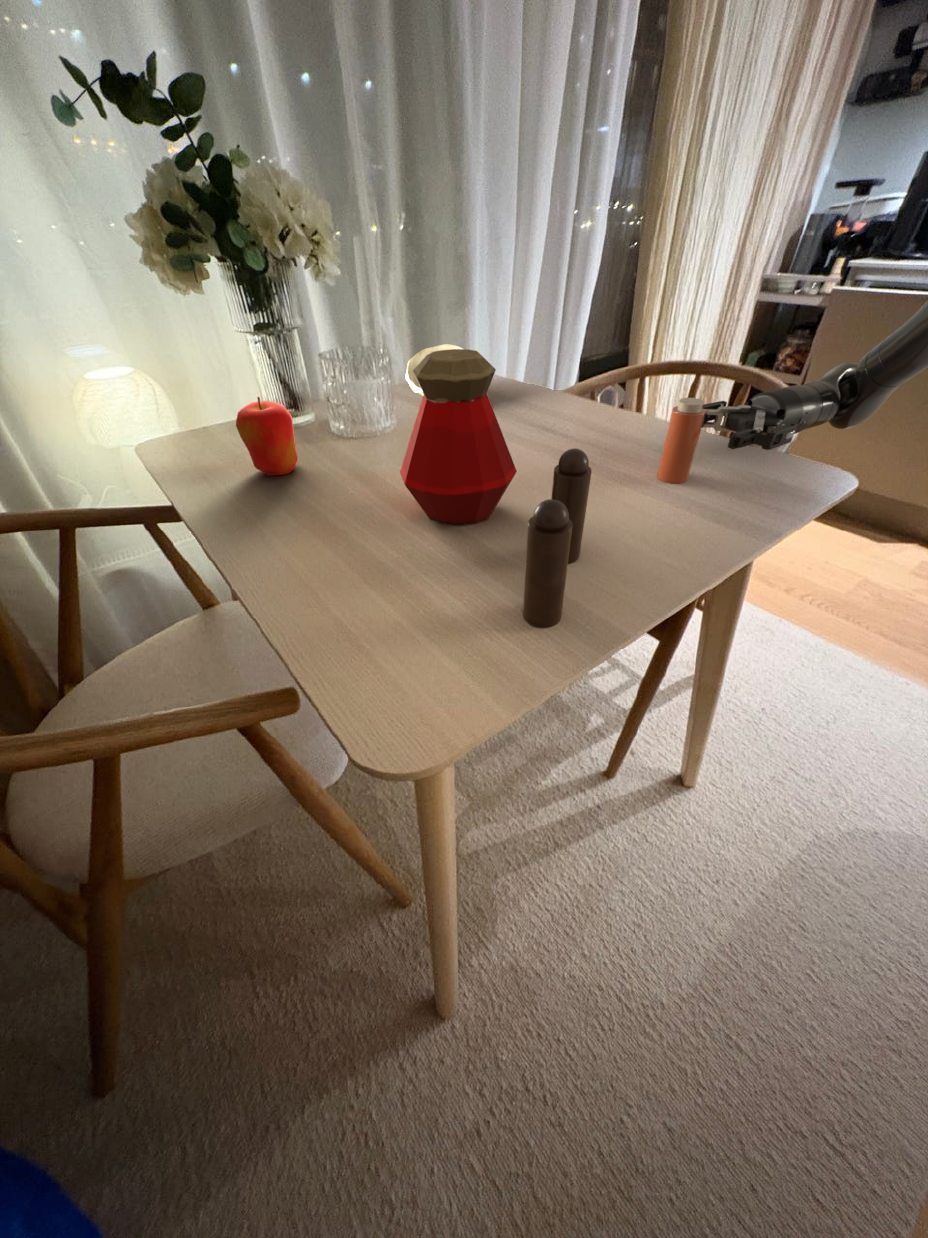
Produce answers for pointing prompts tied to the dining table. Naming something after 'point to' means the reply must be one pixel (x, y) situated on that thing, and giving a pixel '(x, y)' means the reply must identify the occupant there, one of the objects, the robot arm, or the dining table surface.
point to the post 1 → (546, 563)
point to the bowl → (417, 359)
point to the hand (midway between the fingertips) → (707, 432)
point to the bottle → (456, 441)
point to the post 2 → (573, 493)
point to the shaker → (681, 440)
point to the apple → (268, 436)
